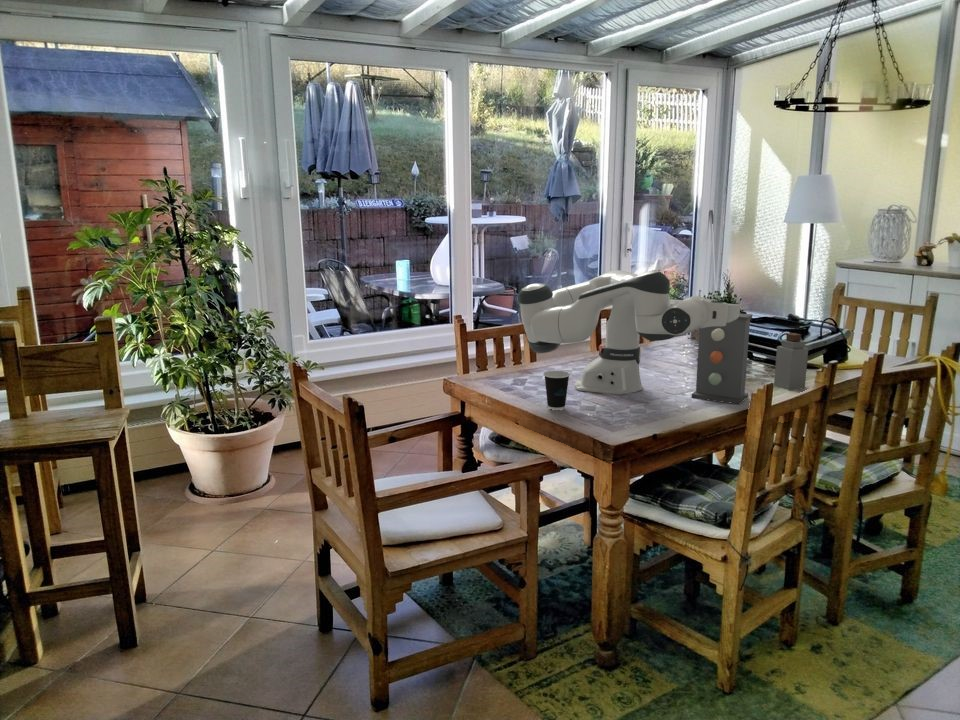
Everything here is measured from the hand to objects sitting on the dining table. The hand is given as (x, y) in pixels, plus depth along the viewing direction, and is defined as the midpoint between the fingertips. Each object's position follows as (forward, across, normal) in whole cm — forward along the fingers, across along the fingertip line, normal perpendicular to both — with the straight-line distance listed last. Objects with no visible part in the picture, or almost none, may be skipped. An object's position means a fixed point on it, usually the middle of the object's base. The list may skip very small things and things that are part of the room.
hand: (709, 305), depth 213 cm
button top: (+12, 0, -12) cm, 17 cm away
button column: (+18, 0, -32) cm, 37 cm away
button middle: (+12, 0, -19) cm, 23 cm away
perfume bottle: (+42, +16, -32) cm, 55 cm away
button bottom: (+12, 0, -26) cm, 29 cm away
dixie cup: (-20, -39, -32) cm, 54 cm away
